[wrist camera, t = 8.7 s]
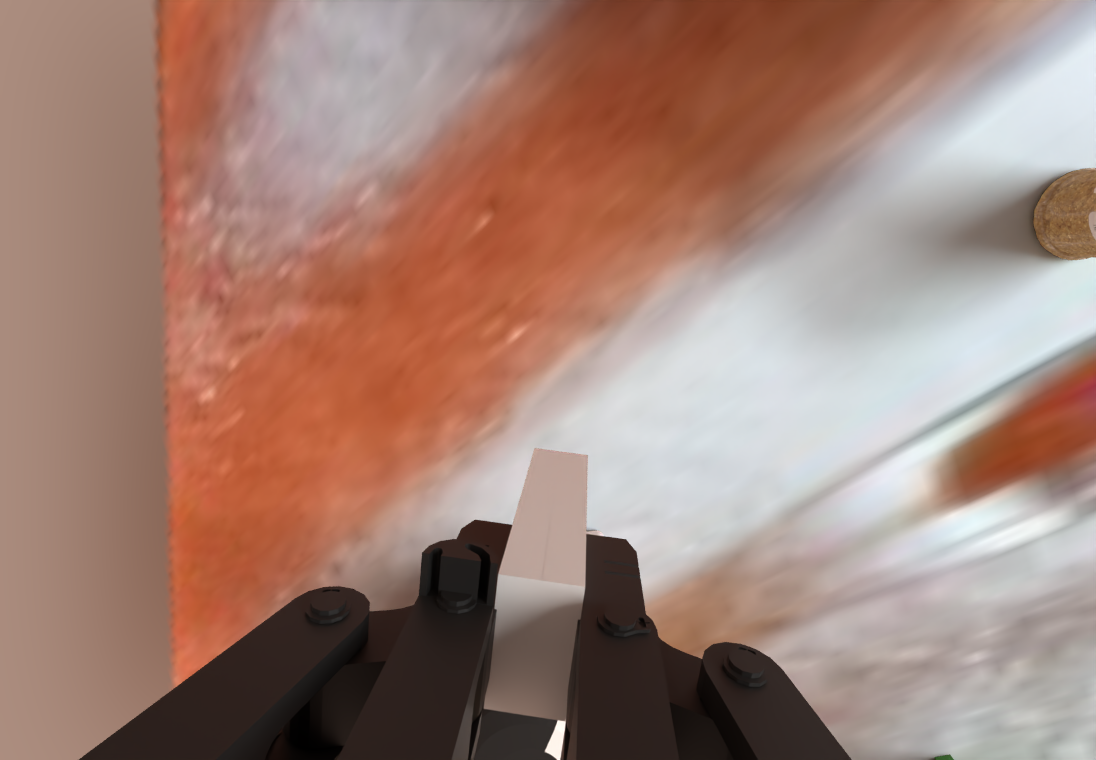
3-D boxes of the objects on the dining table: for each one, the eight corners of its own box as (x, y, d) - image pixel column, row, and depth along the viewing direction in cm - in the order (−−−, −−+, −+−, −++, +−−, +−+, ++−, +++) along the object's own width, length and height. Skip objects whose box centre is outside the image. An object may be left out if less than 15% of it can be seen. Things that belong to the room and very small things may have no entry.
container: (498, 656, 36) (454, 866, 24) (475, 543, 35) (415, 703, 22) (620, 642, 36) (643, 850, 23) (602, 527, 34) (615, 681, 22)
